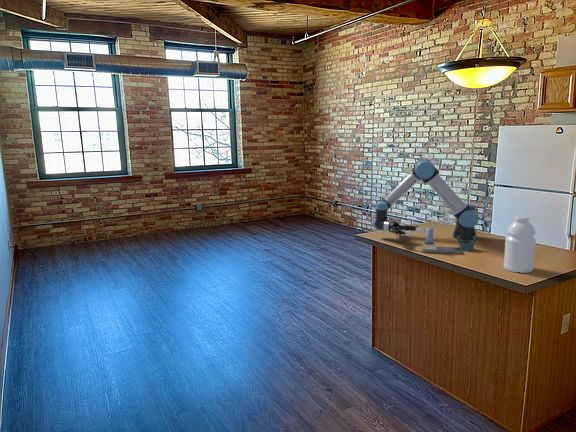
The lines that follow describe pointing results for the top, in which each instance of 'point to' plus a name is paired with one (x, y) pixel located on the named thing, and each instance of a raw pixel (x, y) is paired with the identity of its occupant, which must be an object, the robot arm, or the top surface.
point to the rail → (439, 249)
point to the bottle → (520, 246)
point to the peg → (429, 236)
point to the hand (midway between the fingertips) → (417, 232)
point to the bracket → (466, 244)
